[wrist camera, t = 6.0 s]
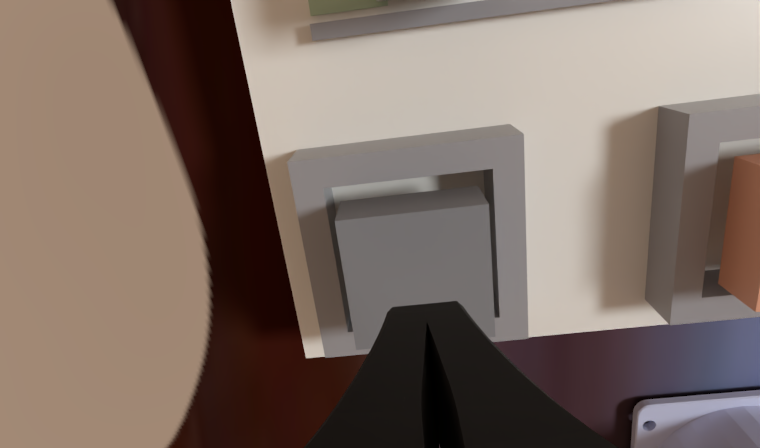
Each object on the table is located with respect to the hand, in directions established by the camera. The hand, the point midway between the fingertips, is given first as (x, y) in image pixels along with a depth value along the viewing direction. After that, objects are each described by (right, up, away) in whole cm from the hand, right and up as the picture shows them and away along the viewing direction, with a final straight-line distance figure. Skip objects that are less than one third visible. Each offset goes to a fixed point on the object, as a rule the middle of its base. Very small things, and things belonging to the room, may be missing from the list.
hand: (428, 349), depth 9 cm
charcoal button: (0, +2, +4) cm, 4 cm away
